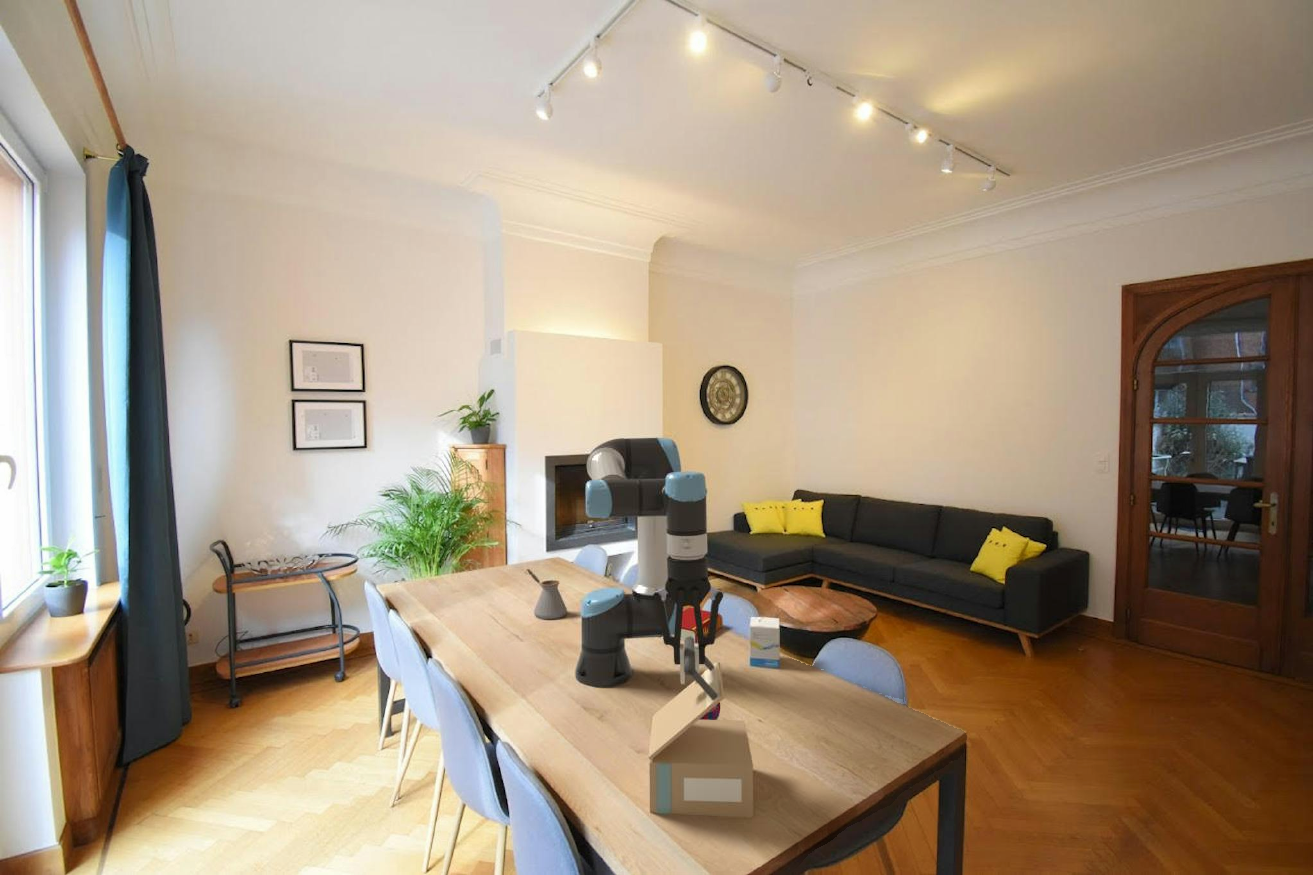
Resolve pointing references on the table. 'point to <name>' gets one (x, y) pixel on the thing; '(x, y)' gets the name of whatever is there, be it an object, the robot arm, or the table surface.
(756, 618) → the ink box
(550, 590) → the coffee pot
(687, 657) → the flap
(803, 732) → the table surface
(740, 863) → the table surface
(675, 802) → the carton
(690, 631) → the book
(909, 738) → the table surface
